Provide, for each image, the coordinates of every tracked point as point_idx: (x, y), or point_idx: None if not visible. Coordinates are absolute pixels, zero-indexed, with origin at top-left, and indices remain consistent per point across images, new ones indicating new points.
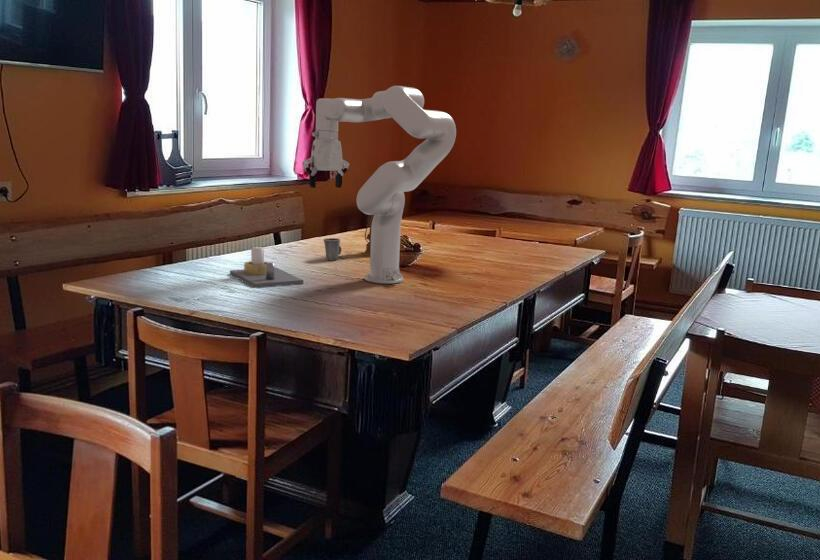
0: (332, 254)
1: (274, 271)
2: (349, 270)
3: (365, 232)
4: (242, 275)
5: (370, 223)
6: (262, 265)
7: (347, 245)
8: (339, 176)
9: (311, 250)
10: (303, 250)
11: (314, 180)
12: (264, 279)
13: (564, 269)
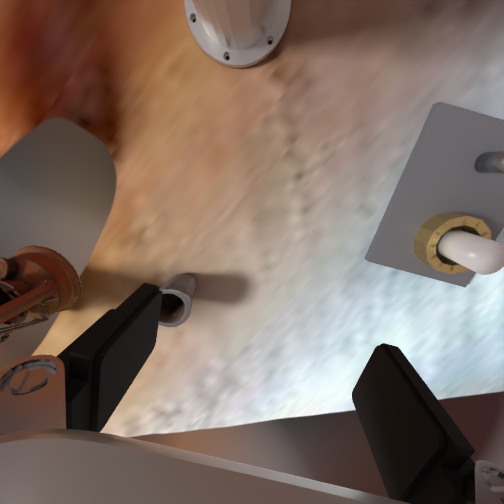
0: (187, 279)
1: (496, 154)
2: (227, 171)
3: (38, 322)
4: (494, 230)
5: (8, 317)
6: (472, 217)
7: None
8: (99, 363)
9: (158, 374)
10: (172, 381)
11: (430, 396)
12: None
13: None
